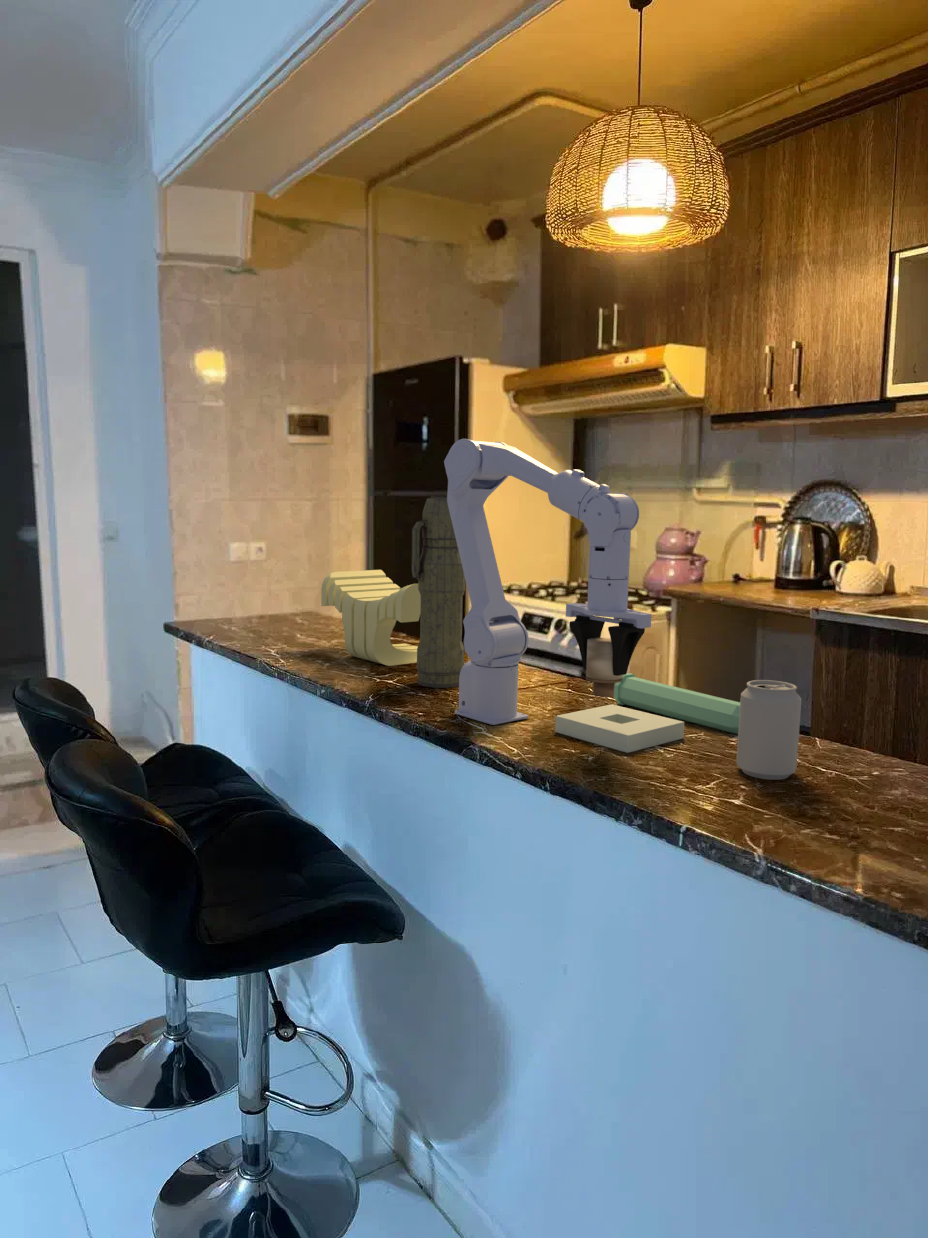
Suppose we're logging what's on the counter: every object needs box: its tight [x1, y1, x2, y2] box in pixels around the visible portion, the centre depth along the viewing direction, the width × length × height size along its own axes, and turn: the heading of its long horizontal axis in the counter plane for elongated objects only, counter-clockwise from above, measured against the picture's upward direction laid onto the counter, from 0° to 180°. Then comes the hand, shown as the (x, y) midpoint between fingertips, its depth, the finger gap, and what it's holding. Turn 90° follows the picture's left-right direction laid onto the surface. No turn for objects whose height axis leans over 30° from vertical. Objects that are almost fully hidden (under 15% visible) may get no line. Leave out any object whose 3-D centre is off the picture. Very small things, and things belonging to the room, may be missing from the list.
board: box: [554, 704, 685, 754], centre depth 137 cm, size 14×13×2 cm
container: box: [613, 672, 740, 735], centre depth 148 cm, size 6×6×25 cm
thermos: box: [411, 495, 466, 689], centre depth 170 cm, size 9×12×35 cm
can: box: [736, 679, 802, 781], centre depth 119 cm, size 8×8×12 cm
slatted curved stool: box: [320, 569, 421, 667], centre depth 195 cm, size 30×16×18 cm, turn 40°
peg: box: [585, 637, 623, 698], centre depth 132 cm, size 5×5×8 cm
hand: (604, 671), depth 132 cm, fingers closed on peg, 5 cm apart
